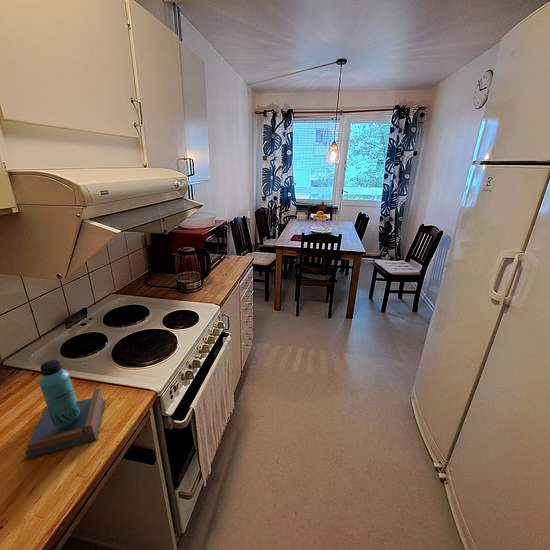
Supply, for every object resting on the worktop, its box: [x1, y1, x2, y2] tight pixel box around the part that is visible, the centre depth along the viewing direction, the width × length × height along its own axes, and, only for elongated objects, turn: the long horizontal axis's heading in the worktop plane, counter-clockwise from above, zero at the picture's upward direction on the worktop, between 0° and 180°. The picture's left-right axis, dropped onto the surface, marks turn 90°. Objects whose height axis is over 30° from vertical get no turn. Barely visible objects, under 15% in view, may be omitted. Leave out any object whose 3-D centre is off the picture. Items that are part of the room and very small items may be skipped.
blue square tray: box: [24, 387, 105, 459], centre depth 80 cm, size 15×14×6 cm
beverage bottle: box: [38, 359, 81, 427], centre depth 76 cm, size 6×7×20 cm
